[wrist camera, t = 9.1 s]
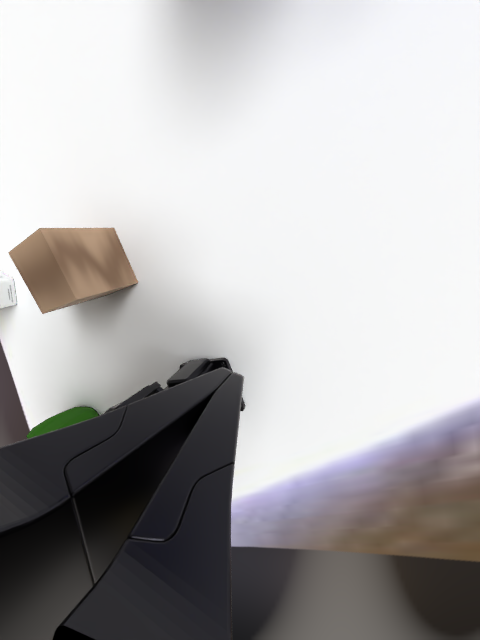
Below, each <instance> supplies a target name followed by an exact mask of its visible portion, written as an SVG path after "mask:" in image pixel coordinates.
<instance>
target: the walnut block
mask: <svg viewBox="0 0 480 640" xmlns="http://www.w3.org/2000/svg"><path fill="white" fill-rule="evenodd" d="M9 255H10V257H11V258H12V260H13V262H14V264H15V266H16V267H17V269H18V271H19V273H20V274H21V276H22V278H23V280H24V282H25V283H26V285H27V287H28V289H29V291H30V292H31V294H32V296H33V298H34V299H35V301H36V303H37V305H38V307H39V308H40V310H41V312H42V314H44V313H47V312H51V311H54V310H58V309H61V308H64V307H68V306H71V305H75V304H78V303H82V302H85V301H89V300H92V299H95V298H99V297H102V296H106V295H108V294H111V293H113V292H116V291H118V290H121V289H123V288H126V287H129V286H131V285H134V284H136V283H138V281H137V279H136V276H135V274H134V272H133V270H132V267H131V265H130V263H129V261H128V258H127V256H126V254H125V252H124V249H123V247H122V245H121V243H120V240H119V238H118V236H117V234H116V231H115V229H114V228H39V229H38V230H37V231H36V232H34V233H33V234H32V235H30V236H29V237H28V238H27V239H25V240H24V241H23V242H21V243H20V244H19V245H18V246H16V247H15V248H14V249H12V250H11V251H10V252H9Z"/></svg>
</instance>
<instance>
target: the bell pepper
mask: <svg viewBox="0 0 480 640" xmlns="http://www.w3.org/2000/svg"><path fill="white" fill-rule="evenodd" d="M97 416H99V415H98V413H97V412H96V411H95V410H93V409H92V408H88V407H74V408H72V409H69V410H67V411H64V412H62V413H59V414H57V415H55V416H53V417H51V418H48V419H47V420H45V421H43V422H42V423H40V424H39V425H37V426H35V427H34V428H33V429H32V430H31V431H30V432H29V434H28V435H27V438H28V439H29V438H32V437H35V436H39V435H42V434H45V433H48V432H51V431H55V430H58V429H61V428H64V427H67V426H70V425H73V424H76V423H80V422H83V421H86V420H89V419H92V418H94V417H97Z"/></svg>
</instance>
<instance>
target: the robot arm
mask: <svg viewBox="0 0 480 640" xmlns="http://www.w3.org/2000/svg"><path fill="white" fill-rule="evenodd" d="M223 362H224V363H225V364H224V363H223ZM243 381H244V377H243V376H242V375H240V374H237V373H235V372H234V373H233V372H232V369H231V366H230V364H229V361H228V360H227V359H226V358H219V359H211V360H209V359H199V360H192V361H189V362H188V363H183V364H182V365H180V370H179V371H177V372H176V373H175V374H174V375H173V376H172V377H171V378H170V379H168V381H167V385H168V386H167V387H166V388H165V389H162V388H161V387H160V386H161V385H160V384H158V383H157V382H155V383H153V384H152V385H150V386H149V385H148V386H147V387H145V388H143V389H142V390H141V391H139V392H138V393H136V394H135V395H133V396H132V397H130V398H129V399H127V400H126V401H124V402H122V403H120V404H118V405H115V406H113V407H111V408H110V409H108V410H107V411H106V412H105V414H102V415H100V416H97V417H94V418H92V419H89V420H86V421H83V422H80V423H76V424H73V425H70V426H67V427H64V428H61V429H58V430H55V431H51V432H48V433H45V434H42V435H39V436H35V437H32V438H29V439H26V440H23V441H19V442H16V443H13V444H10V445H7V446H4V447H0V640H232V609H231V608H232V601H231V600H232V598H231V499H232V485H233V475H234V464H235V455H236V446H237V437H238V428H239V418H240V411H243V410H244V408H245V404H244V401H243V398H242V391H243Z"/></svg>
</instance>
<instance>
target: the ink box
mask: <svg viewBox="0 0 480 640" xmlns="http://www.w3.org/2000/svg"><path fill="white" fill-rule="evenodd" d="M16 304H17V301H16V293H15V286H14V280H13V278H12V277H10V276H9V275H7V274H5V273H4V272H2V271H1V270H0V308H4V307H8V306H13V305H16Z"/></svg>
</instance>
